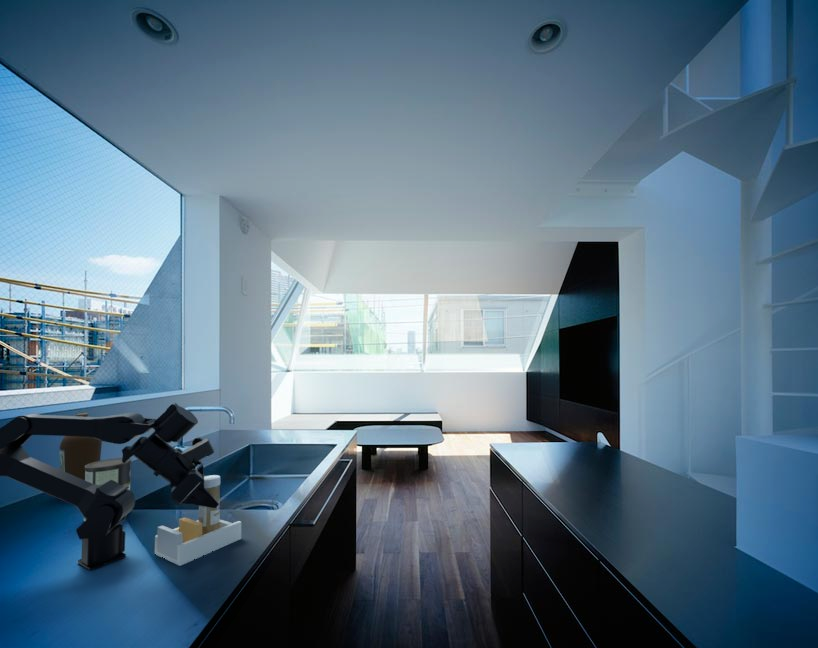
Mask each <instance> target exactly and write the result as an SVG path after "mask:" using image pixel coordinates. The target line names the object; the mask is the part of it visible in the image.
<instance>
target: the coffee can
mask: <svg viewBox="0 0 818 648" xmlns="http://www.w3.org/2000/svg"><path fill="white" fill-rule="evenodd" d="M131 464H132V458H130V459H128V460H127V461H126V462H125V463H123V462H122V457H115V458H108V459H102V460H101V459H100V461H96V462H93V463H90V464H87V465H86V466H85V481H87V482H90V483H92V484H95V485H103V484H104V483H106V482H108V481H109V480H113V481H116V482H117V483H118V484H120V485H123V486H129V488H128V489H127V490H130V491H131V476H132V474H131V471H132V469H131V467H132V466H131ZM86 520H87V519H86V518H85V517H84V516H83V522H85V521H86Z"/></svg>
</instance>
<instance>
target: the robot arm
mask: <svg viewBox="0 0 818 648" xmlns="http://www.w3.org/2000/svg"><path fill="white" fill-rule="evenodd" d="M197 424H199V420H198V418H197V417H196V415H194V414H193V412H192V411H190V410H187V408H184V407H183V406H180V405H179V404H178V403H176V402H175V403H172V404H170V405H169V406H168V407H167V409H165V411H164V412H163V413H162V414H161V415H160V416H159V417H157V418H150V417H147V418H146V417H144V416H143V415H142V414H140V413H137V412H127V413H126V412H125V413H120V414H113V415H112V414H111V415H105V416H88V417H82V416H76V415H54V414H52V415H51V414H39V413H34V412H33V413H28V414H22V415H18V416H15V417H14V418H13V419H11V420H10V421H9V422H7V423H6V424H5V425H2V426H1V427H0V477H4V478H9V479H11V480H14V481H15V482H18V483H20V484H23V485H25V486H27V487H30V488H32V489H34V490H37V491H39V492H42V493H45V494H46V495H49V496H52V497H54V498H56V499H59V500H60V501H64V502H66V503H68V504H71V505H73V506H75V507H76V508H77V509H78V511H79V512H80V514H81V515H82V516H83V518H84V517H85V518H86V519H87V520H86V521H83V522H82V523H81V524H80V525H79V526H78V527H77V528H76V529H75V531H76V534H77V536H78V539H79V540H81V558H80V559H78V560H77V564H79V565H81V566H82V567H84V569H87V570H88V571H93V570H95V569H99V568H101V567H103V566H106V565H108V564H111V563H113V562H116V561H118V560H121V559H124V558H126V557H127V554H126V553H124V552H125V551H126V532H125V530H124V526H123V524H122V523H123V522H124V521H125V520H126V518H127V515H128V514H129V513H131V512H132V511H133V509H134V507H135V505H136V498H135V494H134V492H132V491H131V489H130V490H127V489H128V488H129V486H123V485H120V484H118V483H117V482H116V481H113V480H109V481H108V482H106V483H104V484H103V485H95V484H92V483H90V482H87V481H85V480H83V479H80V478H78V477H76V476H73V475H71V474H69V473H67V472H64V471H62V470H60V468H57V467H55V466H52V465H50V464H47V463H45V462H43V461H41V460H38V459H36V458H34V457H32V456H30V455H29V454H28V453H27V451H26V450H25V448H24V447H23V445H24V444H25V443H26V442H28V440H30V439H31V437H33V436H54V437H55V436H56V437H57V436H58V437H65V436H86V437H92V438H95V439H98V440H100V441H102V442H105V443H109V444H110V443H111V444H116V445H121V444H122V445H123V444H126V443H129V442H131V441H133V440H136V439H137V440H136V441H135V442H134V443H132V444H131V445H129V446H128V445H126V446H124V447H123V448H122V450H121V453H122V457H121V458H122V462H123V463H125V462H126V461H127V460H128V459H132V457H134V458H136V459H137V460H138V461H140V462H141V463H142V464H144V465H145V466H146V467H148V468H149V469H150V470H152V471H153V473H152V474H153V475H154V476H156V477H158V476H160V477H161V478H162V479H163V480H165V481H166V482H168V486H169V487H170V488H171V491H170V492H171V493H170V495H171V496H170V497H171V498H170V499H171V500H172V501H173V502H175V503H176V504H177V505H179V504H182V505H184V504H185V505H194V506H198V507H199V506H205V507H210V508H216V507H217V506H218V505H219V503H218V502H217V501H216V499H215V498H214V497H213V496H212V495H211V494H210V493H209V491H208V490H207V489H206V488H205V487H204V477H205V476H206V475H205V474H204V463H203V461H202V460H203V459H204V458H206V457H210V456H211V455H213V454H214V453H215V449H214V447H213V445H212V442H211V441H210V439H209V438H208V437H205V438H204V439H203V438H201V437H200V436H197V437H195V438H193V439H192V443H191V444H192V445H191V446H188V448H186V449H184V450H182V449H181V448H180V447H178V448H177V447H175V448H174V447H173V446H172V445H171V444H170V443H171V442H173V443H178V442H179V441H181V440H182V438H183V437H184V436H186V435H187V434H189V432H190V431H191V430H192V429H193V428H194V427H195V426H196V425H197ZM151 431H153V432H152V433H150V435H148V436H142V435H144V434H146V433H149V432H151ZM198 465H199V466H198Z"/></svg>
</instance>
